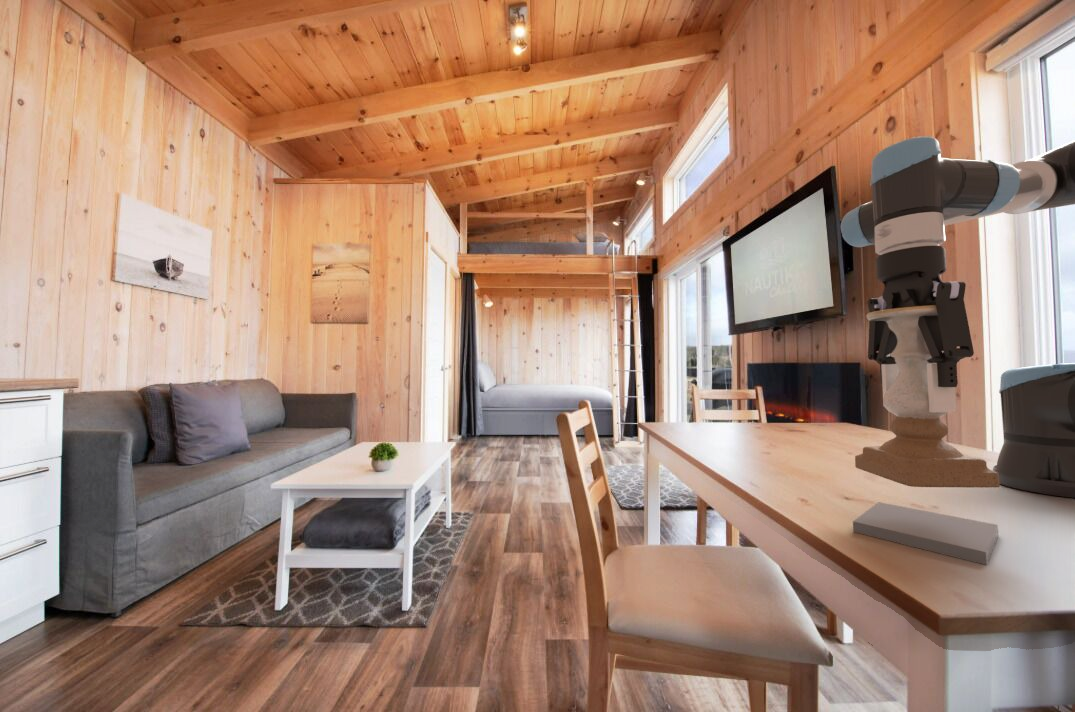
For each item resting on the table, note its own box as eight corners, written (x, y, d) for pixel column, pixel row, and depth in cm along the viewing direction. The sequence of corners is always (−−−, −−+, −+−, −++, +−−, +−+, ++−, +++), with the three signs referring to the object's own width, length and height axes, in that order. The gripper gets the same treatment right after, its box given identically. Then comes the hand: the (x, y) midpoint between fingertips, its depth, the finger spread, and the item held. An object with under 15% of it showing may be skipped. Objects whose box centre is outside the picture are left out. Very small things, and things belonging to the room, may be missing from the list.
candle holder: (853, 467, 64) (846, 316, 65) (929, 467, 63) (920, 313, 64) (910, 487, 53) (900, 305, 54) (1002, 487, 52) (991, 302, 53)
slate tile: (879, 511, 67) (878, 502, 67) (998, 535, 56) (997, 524, 56) (853, 531, 59) (852, 521, 59) (986, 564, 48) (985, 552, 48)
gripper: (835, 269, 69) (842, 403, 68) (945, 228, 49) (956, 417, 48) (882, 267, 69) (889, 402, 68) (1012, 225, 49) (1024, 417, 48)
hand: (916, 408), depth 58 cm, fingers closed on candle holder, 7 cm apart
